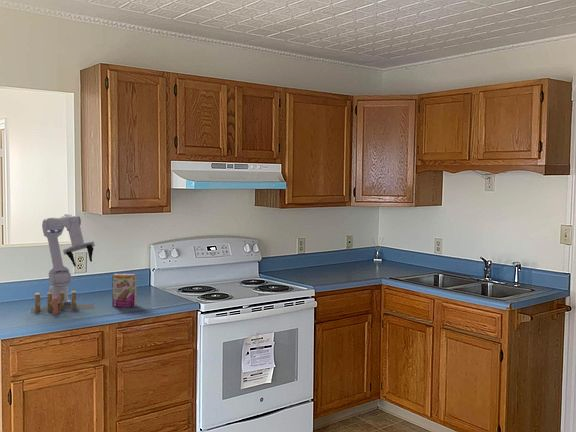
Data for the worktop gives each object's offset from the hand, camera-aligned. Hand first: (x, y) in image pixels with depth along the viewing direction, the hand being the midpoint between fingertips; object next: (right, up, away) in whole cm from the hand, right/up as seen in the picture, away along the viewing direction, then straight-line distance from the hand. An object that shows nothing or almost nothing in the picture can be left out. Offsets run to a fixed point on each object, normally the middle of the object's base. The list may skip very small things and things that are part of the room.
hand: (82, 263), depth 280 cm
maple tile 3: (-13, -23, +8) cm, 27 cm away
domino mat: (-12, -23, +8) cm, 27 cm away
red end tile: (-12, -24, -2) cm, 27 cm away
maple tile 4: (-8, -23, +9) cm, 26 cm away
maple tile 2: (-18, -23, +6) cm, 30 cm away
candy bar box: (+16, -23, +15) cm, 32 cm away
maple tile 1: (-23, -23, +4) cm, 33 cm away
